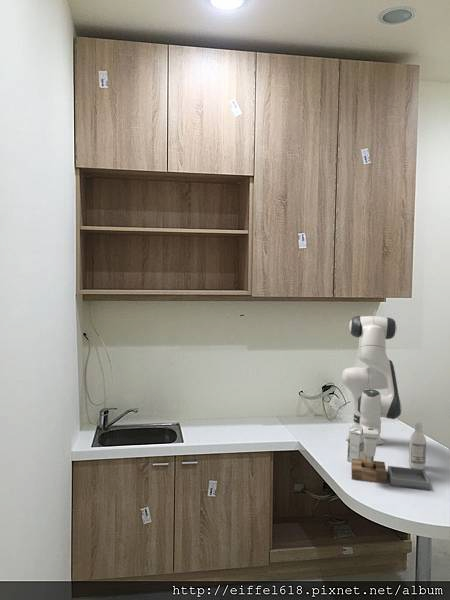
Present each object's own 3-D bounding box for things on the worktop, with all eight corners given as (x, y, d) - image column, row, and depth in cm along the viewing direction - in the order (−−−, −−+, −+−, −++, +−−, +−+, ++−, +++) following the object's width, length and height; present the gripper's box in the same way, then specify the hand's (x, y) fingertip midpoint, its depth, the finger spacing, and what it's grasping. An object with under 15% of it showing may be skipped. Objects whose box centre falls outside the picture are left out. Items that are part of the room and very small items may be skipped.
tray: (387, 472, 219) (388, 465, 219) (424, 476, 216) (424, 469, 216) (390, 485, 205) (390, 478, 205) (429, 490, 201) (430, 483, 201)
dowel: (363, 472, 218) (364, 441, 218) (372, 473, 217) (374, 441, 217) (363, 476, 215) (364, 443, 214) (373, 477, 214) (374, 444, 213)
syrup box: (352, 457, 237) (353, 427, 236) (364, 461, 233) (365, 430, 233) (347, 461, 232) (348, 430, 232) (359, 464, 229) (360, 432, 228)
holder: (351, 467, 224) (351, 458, 224) (383, 470, 221) (384, 462, 221) (351, 479, 211) (352, 469, 211) (386, 483, 208) (386, 473, 207)
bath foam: (427, 469, 224) (429, 425, 223) (412, 469, 224) (414, 425, 223) (420, 464, 231) (422, 421, 230) (406, 464, 231) (408, 421, 230)
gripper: (361, 421, 226) (360, 451, 227) (363, 434, 206) (361, 467, 207) (376, 422, 225) (375, 452, 225) (379, 435, 205) (377, 468, 205)
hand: (368, 459), depth 216 cm, fingers closed on dowel, 4 cm apart
